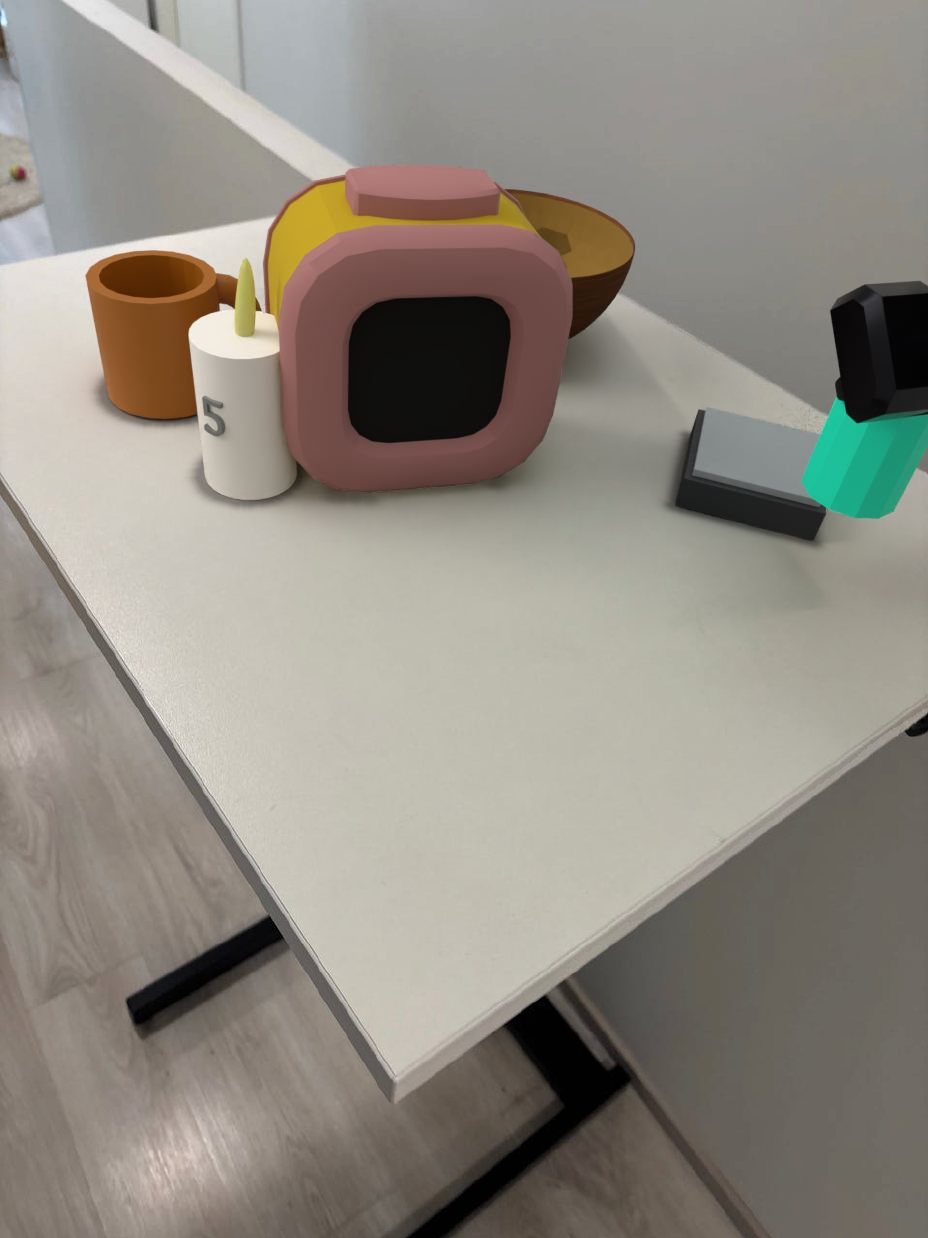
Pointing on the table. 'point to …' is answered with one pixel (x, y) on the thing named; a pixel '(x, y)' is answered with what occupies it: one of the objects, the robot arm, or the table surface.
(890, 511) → the candle
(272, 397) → the candle
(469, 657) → the table surface
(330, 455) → the alarm clock
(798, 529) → the scale
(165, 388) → the mug
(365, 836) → the table surface
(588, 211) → the bowl
